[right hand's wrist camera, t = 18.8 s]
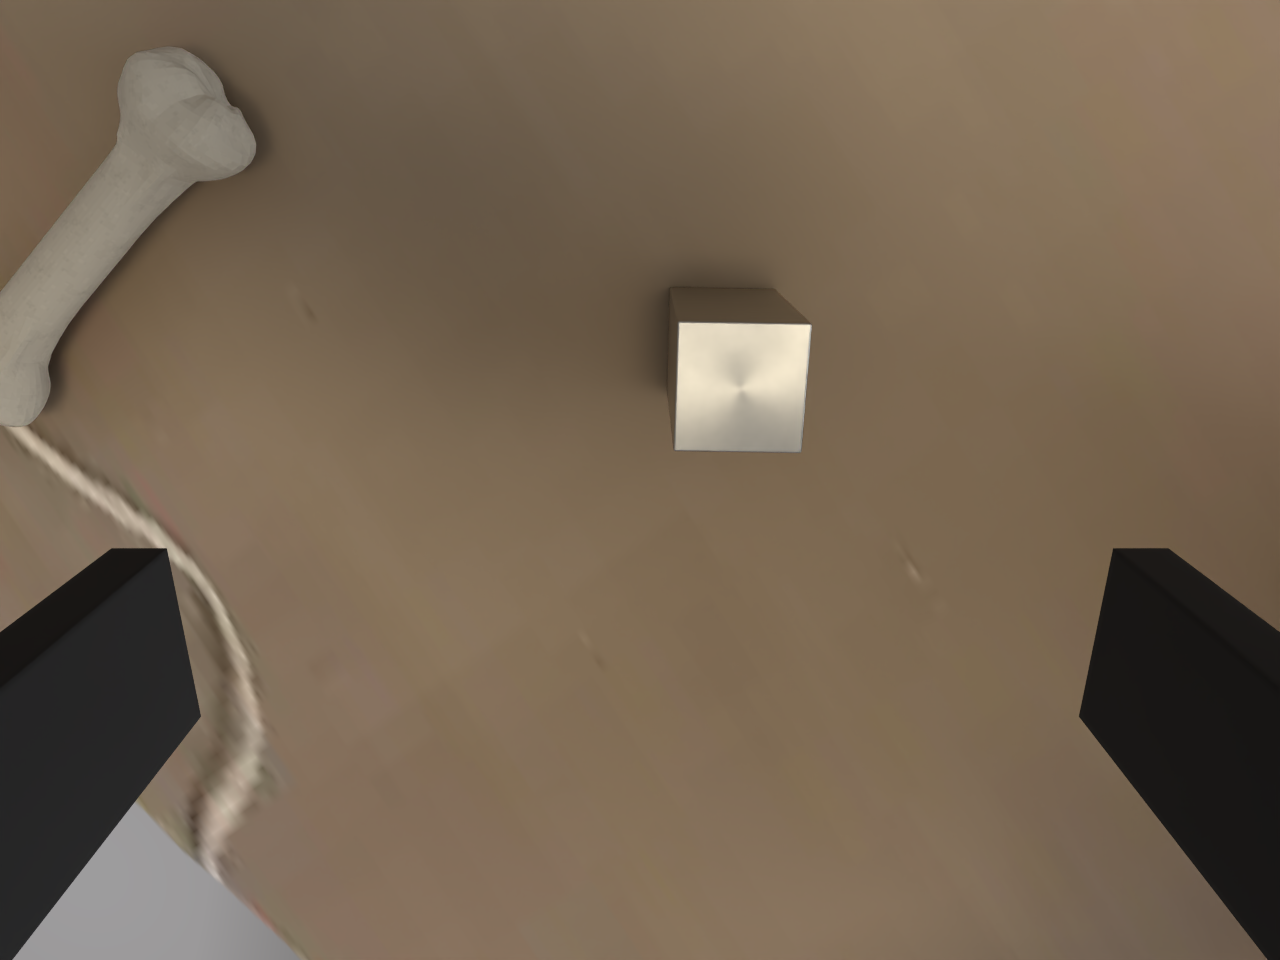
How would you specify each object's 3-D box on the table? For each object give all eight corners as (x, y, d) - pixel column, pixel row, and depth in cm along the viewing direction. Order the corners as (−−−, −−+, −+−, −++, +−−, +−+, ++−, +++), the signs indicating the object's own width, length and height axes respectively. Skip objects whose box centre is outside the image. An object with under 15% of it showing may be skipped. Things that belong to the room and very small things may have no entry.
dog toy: (44, 430, 46) (-24, 461, 41) (-59, 345, 44) (-143, 367, 39) (296, 141, 41) (251, 139, 36) (189, 35, 39) (128, 18, 35)
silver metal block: (666, 392, 45) (673, 451, 36) (669, 287, 43) (677, 321, 34) (768, 393, 45) (801, 453, 36) (775, 288, 43) (812, 323, 34)
